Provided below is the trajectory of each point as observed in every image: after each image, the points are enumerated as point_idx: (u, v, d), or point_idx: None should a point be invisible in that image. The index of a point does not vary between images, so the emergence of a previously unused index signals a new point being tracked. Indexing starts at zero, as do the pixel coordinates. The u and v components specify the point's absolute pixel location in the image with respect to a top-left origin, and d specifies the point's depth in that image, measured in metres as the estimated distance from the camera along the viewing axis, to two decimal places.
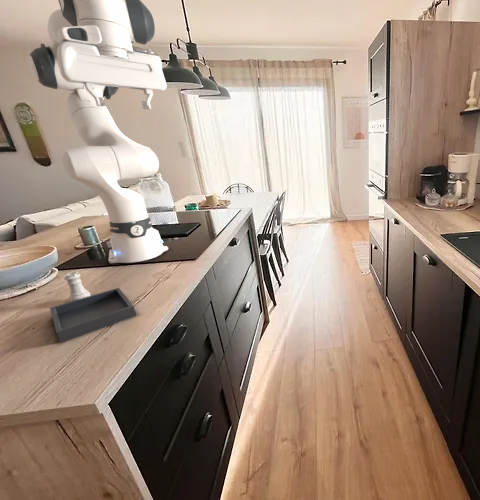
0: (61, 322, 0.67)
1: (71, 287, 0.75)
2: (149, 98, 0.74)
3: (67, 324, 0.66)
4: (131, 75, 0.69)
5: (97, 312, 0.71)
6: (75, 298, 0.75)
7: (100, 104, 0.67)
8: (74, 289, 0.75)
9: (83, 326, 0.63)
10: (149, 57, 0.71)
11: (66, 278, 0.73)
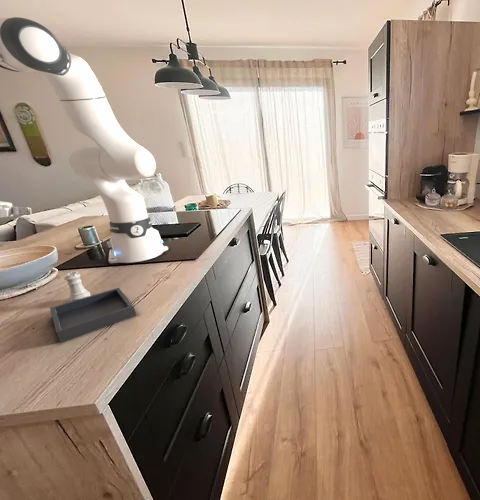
0: (61, 322, 0.67)
1: (71, 287, 0.75)
2: None
3: (67, 324, 0.66)
4: None
5: (97, 312, 0.71)
6: (75, 298, 0.75)
7: (29, 214, 0.71)
8: (74, 289, 0.75)
9: (83, 326, 0.63)
10: None
11: (66, 278, 0.73)
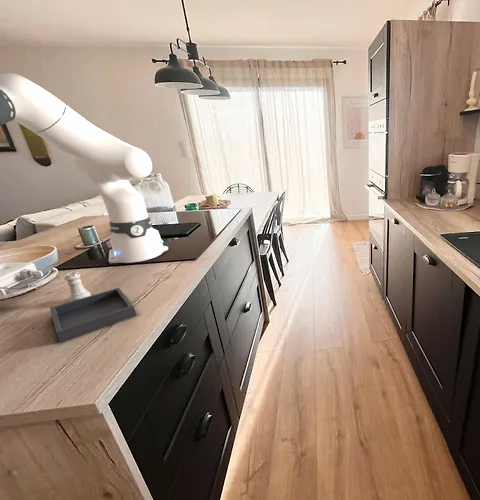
0: (61, 322, 0.67)
1: (71, 287, 0.75)
2: None
3: (67, 324, 0.66)
4: None
5: (97, 312, 0.71)
6: (75, 298, 0.75)
7: (40, 276, 0.79)
8: (74, 289, 0.75)
9: (83, 326, 0.63)
10: None
11: (66, 278, 0.73)
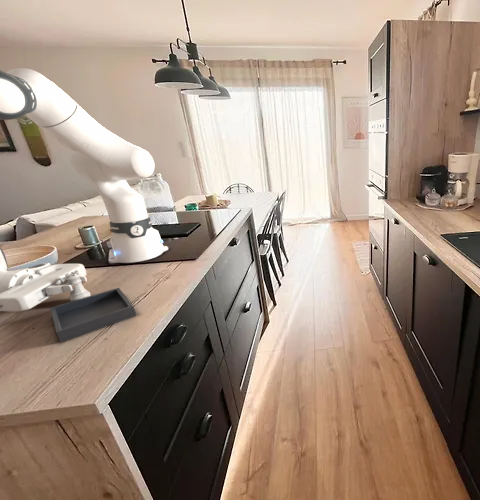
0: (61, 322, 0.67)
1: None
2: None
3: (67, 324, 0.66)
4: None
5: (97, 312, 0.71)
6: (75, 298, 0.75)
7: None
8: (74, 289, 0.75)
9: (83, 326, 0.63)
10: None
11: (66, 278, 0.73)
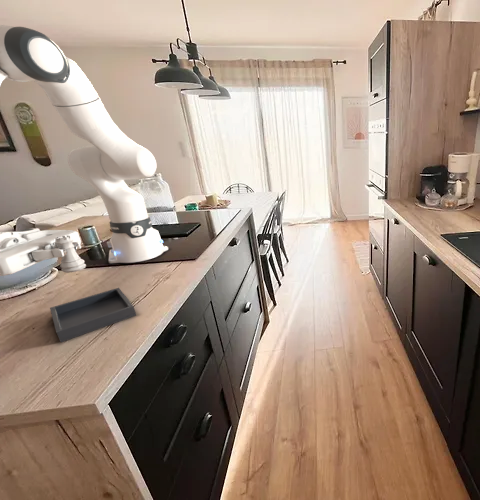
0: (61, 322, 0.67)
1: None
2: (50, 258, 0.63)
3: (67, 324, 0.66)
4: None
5: (97, 312, 0.71)
6: (67, 265, 0.65)
7: (78, 248, 0.68)
8: (66, 255, 0.65)
9: (83, 326, 0.63)
10: None
11: (56, 242, 0.64)
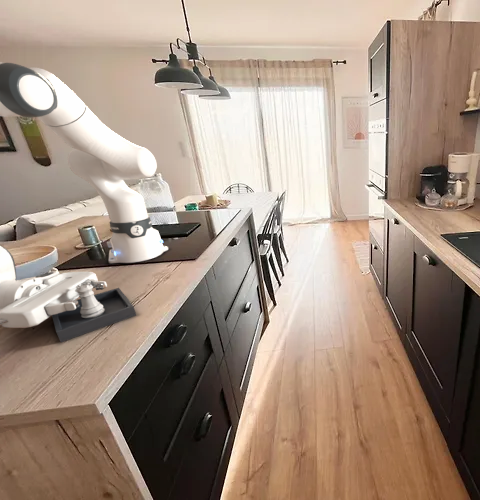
0: (61, 322, 0.67)
1: (83, 300, 0.67)
2: None
3: (67, 324, 0.66)
4: None
5: None
6: (87, 312, 0.68)
7: (104, 287, 0.73)
8: (86, 302, 0.67)
9: (83, 326, 0.63)
10: None
11: (77, 290, 0.66)
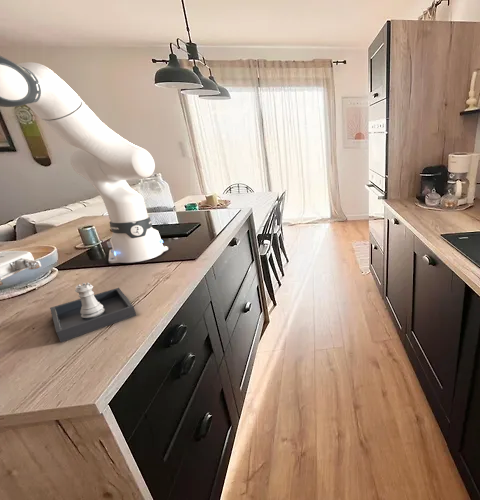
0: (61, 322, 0.67)
1: (83, 300, 0.67)
2: None
3: (67, 324, 0.66)
4: None
5: None
6: (87, 312, 0.68)
7: (38, 267, 0.69)
8: (86, 302, 0.67)
9: (83, 326, 0.63)
10: None
11: (77, 290, 0.66)
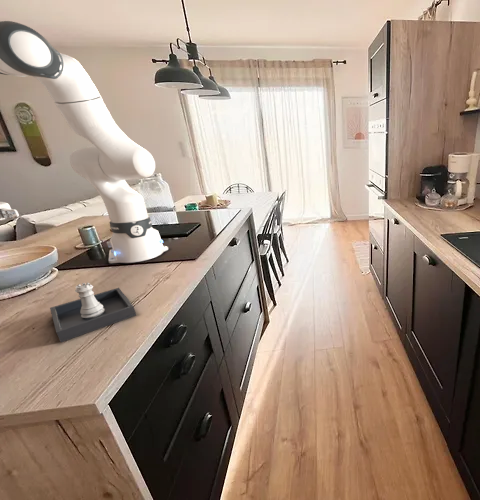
0: (61, 322, 0.67)
1: (83, 300, 0.67)
2: None
3: (67, 324, 0.66)
4: None
5: None
6: (87, 312, 0.68)
7: None
8: (86, 302, 0.67)
9: (83, 326, 0.63)
10: None
11: (77, 290, 0.66)
